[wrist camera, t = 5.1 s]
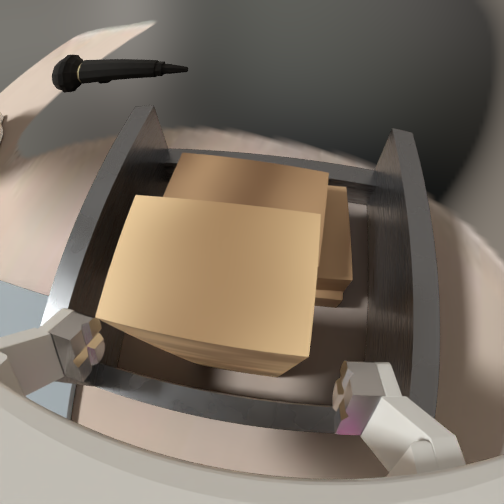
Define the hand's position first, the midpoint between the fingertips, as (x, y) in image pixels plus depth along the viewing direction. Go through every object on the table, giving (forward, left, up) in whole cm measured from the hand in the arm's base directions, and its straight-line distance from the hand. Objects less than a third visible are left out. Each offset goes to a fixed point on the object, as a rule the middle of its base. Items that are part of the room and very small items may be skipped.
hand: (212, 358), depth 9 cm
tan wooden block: (0, +2, -10) cm, 10 cm away
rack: (0, +6, -10) cm, 11 cm away
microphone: (-22, +30, -10) cm, 38 cm away
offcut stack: (0, +8, -10) cm, 13 cm away
